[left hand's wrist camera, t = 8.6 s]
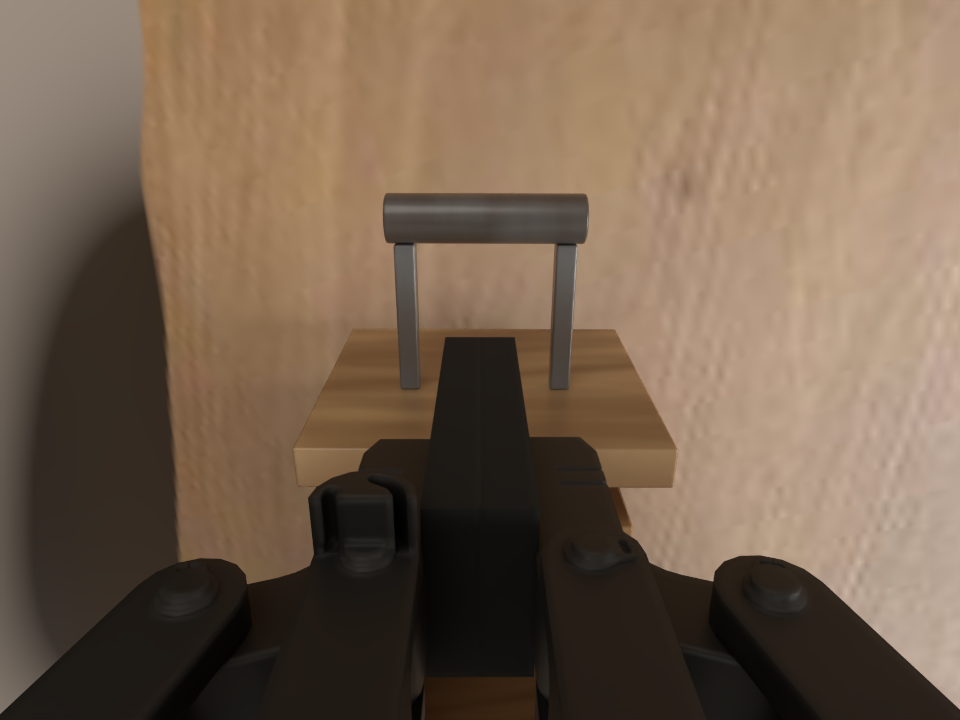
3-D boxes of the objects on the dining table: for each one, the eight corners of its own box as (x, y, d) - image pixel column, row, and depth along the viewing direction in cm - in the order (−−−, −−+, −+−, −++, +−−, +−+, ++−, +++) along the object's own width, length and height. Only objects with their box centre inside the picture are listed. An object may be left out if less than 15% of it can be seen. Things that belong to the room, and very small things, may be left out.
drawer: (340, 169, 23) (263, 221, 15) (629, 169, 23) (710, 222, 15) (375, 625, 31) (338, 822, 23) (589, 626, 31) (628, 822, 23)
